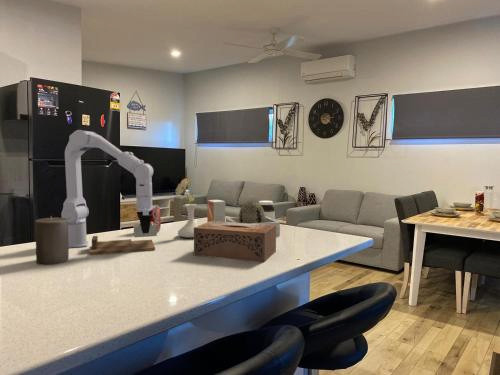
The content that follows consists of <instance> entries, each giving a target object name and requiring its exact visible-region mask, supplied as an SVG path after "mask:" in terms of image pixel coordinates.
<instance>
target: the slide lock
mask: <svg viewBox="0 0 500 375" xmlns="http://www.w3.org/2000/svg"><path fill="white" fill-rule="evenodd" d="M157 233H158V232H157V225H156V224H155V223H153V222H151V223H150V229H149V233H143V232H142V228H141V224H140V223H134V224H133V235H134V236H133V237H134V238H148V237H158V234H157Z"/></svg>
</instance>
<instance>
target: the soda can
mask: <svg viewBox="0 0 500 375" xmlns="http://www.w3.org/2000/svg"><path fill="white" fill-rule="evenodd" d="M152 207H156V209H152V210H151V211H152V213H151V215H153V218H152V220H151V222H153V223H155V224H156V225H157V233H159V231H161V227H162V226H161V225H162V223H161V222H162V220H161V215H162V214H161V208H160V205H159V204H152Z"/></svg>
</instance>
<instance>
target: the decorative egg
mask: <svg viewBox="0 0 500 375" xmlns="http://www.w3.org/2000/svg"><path fill="white" fill-rule="evenodd" d="M238 212H239V213H238V217H239V223H249V224H251V223H265V213H264V210H263V207H262V206H261V205H260V203H259V201H257V200H255V199H249V200H247V201H245V202H243V204H242V205H241V207H240V210H239V211H238Z"/></svg>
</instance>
